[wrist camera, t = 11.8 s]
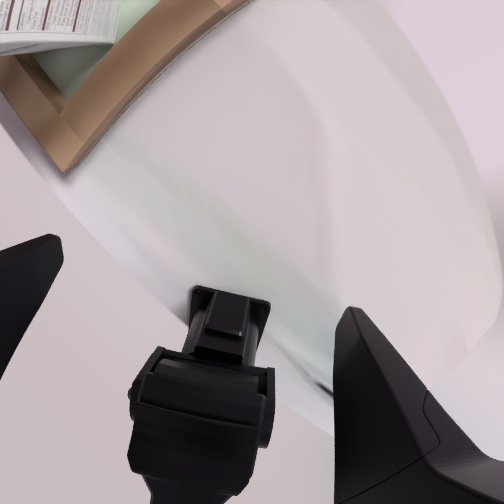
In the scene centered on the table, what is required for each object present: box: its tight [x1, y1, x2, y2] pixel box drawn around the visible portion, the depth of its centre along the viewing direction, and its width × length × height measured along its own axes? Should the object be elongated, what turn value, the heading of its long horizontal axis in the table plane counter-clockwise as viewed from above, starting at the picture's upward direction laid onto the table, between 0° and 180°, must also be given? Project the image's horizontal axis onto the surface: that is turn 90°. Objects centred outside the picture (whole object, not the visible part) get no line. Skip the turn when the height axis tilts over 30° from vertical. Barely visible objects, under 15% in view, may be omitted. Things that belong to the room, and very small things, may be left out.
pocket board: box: [0, 0, 253, 173], centre depth 13 cm, size 18×18×2 cm
